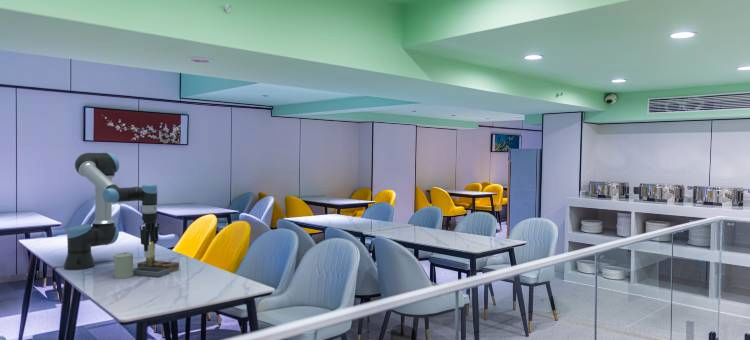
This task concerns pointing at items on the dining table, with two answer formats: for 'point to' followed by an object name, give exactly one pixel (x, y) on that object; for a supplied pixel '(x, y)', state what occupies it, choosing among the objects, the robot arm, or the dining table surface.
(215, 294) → the dining table surface
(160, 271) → the tray
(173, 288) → the dining table surface
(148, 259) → the brass pin
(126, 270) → the can
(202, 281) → the dining table surface
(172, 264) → the block
